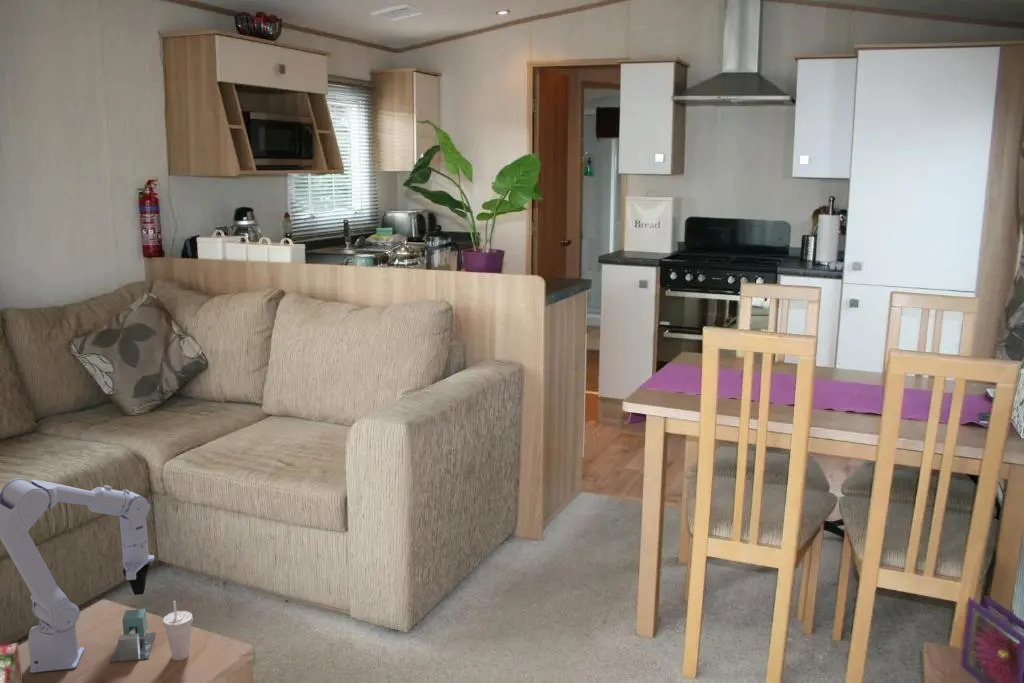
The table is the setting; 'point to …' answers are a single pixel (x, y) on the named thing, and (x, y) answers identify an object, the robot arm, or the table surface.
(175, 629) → the smoothie
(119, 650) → the grey metal stand
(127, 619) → the teal block on rod
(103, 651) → the table surface
